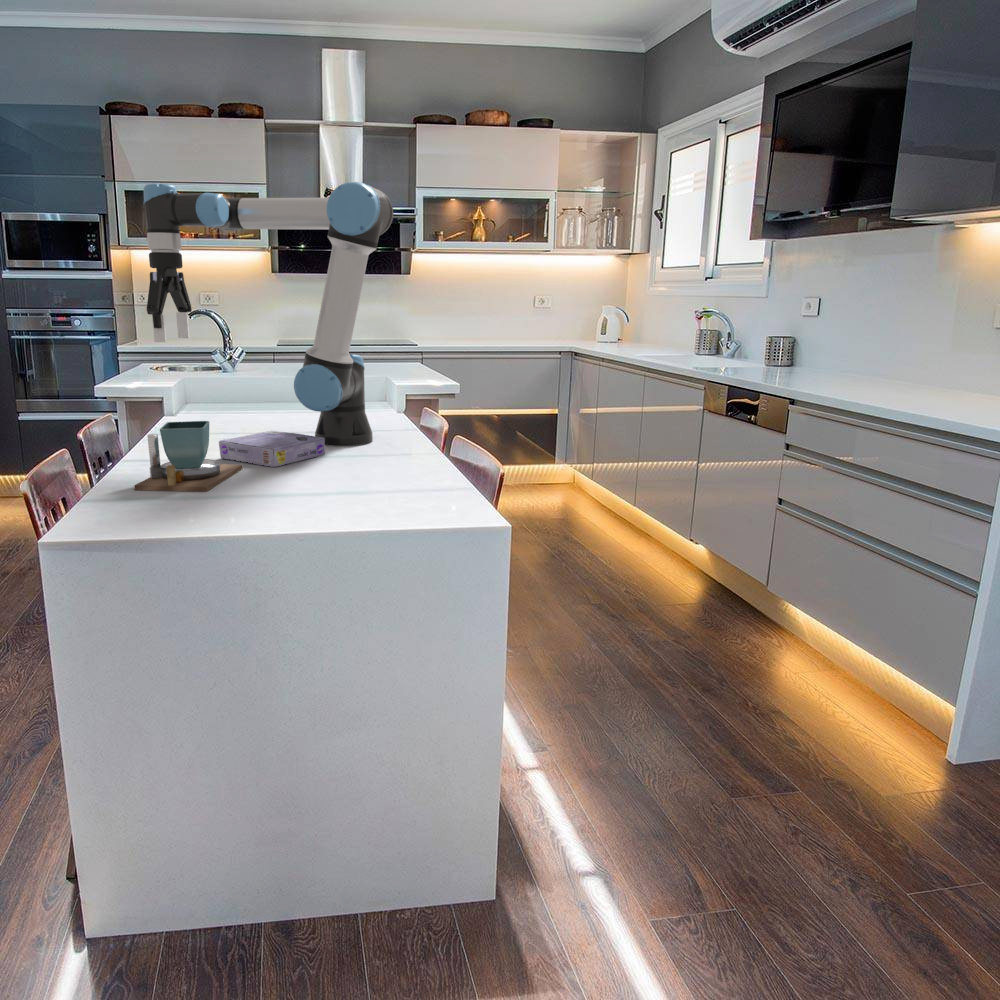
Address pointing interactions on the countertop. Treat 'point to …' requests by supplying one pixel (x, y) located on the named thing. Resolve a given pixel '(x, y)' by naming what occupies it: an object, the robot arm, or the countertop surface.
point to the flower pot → (185, 443)
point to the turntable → (158, 471)
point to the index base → (187, 485)
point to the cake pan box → (272, 448)
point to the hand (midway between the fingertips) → (172, 340)
